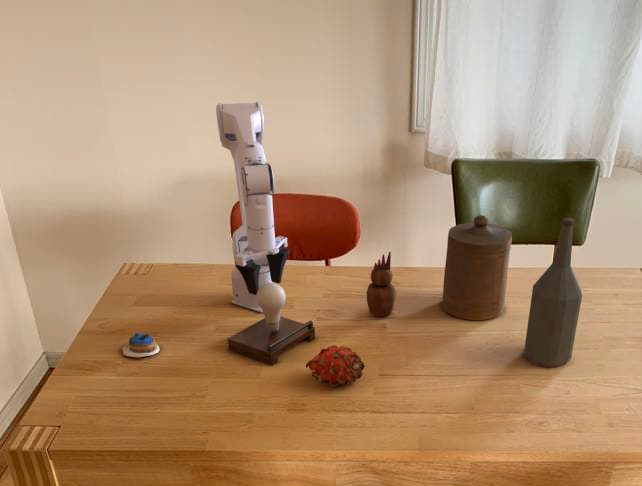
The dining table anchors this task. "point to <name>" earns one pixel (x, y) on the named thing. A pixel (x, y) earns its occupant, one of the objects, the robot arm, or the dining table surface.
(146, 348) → the dessert
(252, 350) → the shelf
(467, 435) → the dining table surface
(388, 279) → the wooden figurine
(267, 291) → the lightbulb
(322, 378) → the dragon fruit
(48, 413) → the dining table surface
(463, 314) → the wooden container
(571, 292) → the bottle
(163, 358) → the dining table surface
